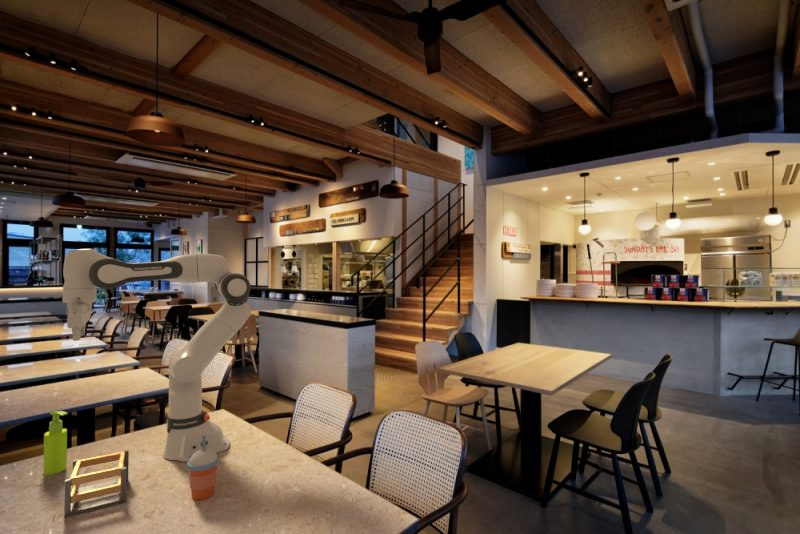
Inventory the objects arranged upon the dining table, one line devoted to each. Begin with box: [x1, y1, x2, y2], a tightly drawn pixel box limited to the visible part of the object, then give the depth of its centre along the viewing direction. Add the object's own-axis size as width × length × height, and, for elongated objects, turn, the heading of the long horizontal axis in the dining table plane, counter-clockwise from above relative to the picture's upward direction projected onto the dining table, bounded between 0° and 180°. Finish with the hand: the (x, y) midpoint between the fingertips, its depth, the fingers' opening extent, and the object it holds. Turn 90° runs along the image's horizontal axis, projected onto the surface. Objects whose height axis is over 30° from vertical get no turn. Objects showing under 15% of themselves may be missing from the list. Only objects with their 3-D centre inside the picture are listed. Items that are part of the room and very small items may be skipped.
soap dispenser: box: [43, 410, 69, 476], centre depth 134 cm, size 6×7×20 cm
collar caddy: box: [63, 449, 130, 518], centre depth 119 cm, size 14×14×10 cm
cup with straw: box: [186, 435, 220, 501], centre depth 122 cm, size 9×9×18 cm
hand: (78, 337), depth 133 cm, fingers open, 8 cm apart
